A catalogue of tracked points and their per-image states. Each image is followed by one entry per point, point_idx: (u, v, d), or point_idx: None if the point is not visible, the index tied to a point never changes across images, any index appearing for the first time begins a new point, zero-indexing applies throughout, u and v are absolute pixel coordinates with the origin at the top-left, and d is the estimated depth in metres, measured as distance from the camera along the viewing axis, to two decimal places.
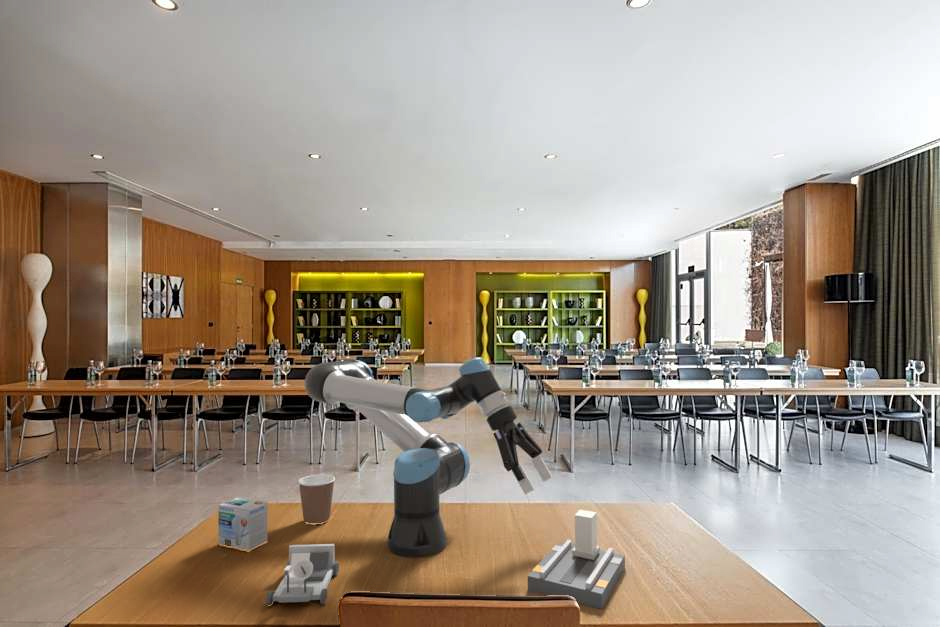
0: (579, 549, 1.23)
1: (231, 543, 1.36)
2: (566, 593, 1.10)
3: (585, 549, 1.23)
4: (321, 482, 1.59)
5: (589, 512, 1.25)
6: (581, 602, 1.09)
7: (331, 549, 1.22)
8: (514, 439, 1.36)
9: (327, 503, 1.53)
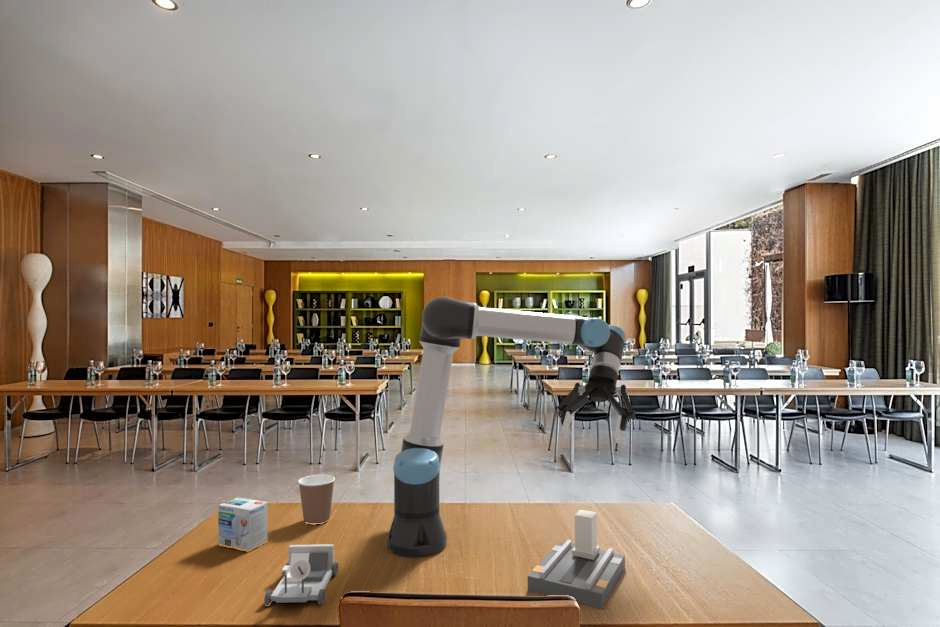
0: (579, 549, 1.23)
1: (231, 543, 1.36)
2: (566, 593, 1.10)
3: (585, 549, 1.23)
4: (321, 482, 1.59)
5: (589, 512, 1.25)
6: (581, 602, 1.09)
7: (331, 549, 1.21)
8: None
9: (327, 503, 1.53)
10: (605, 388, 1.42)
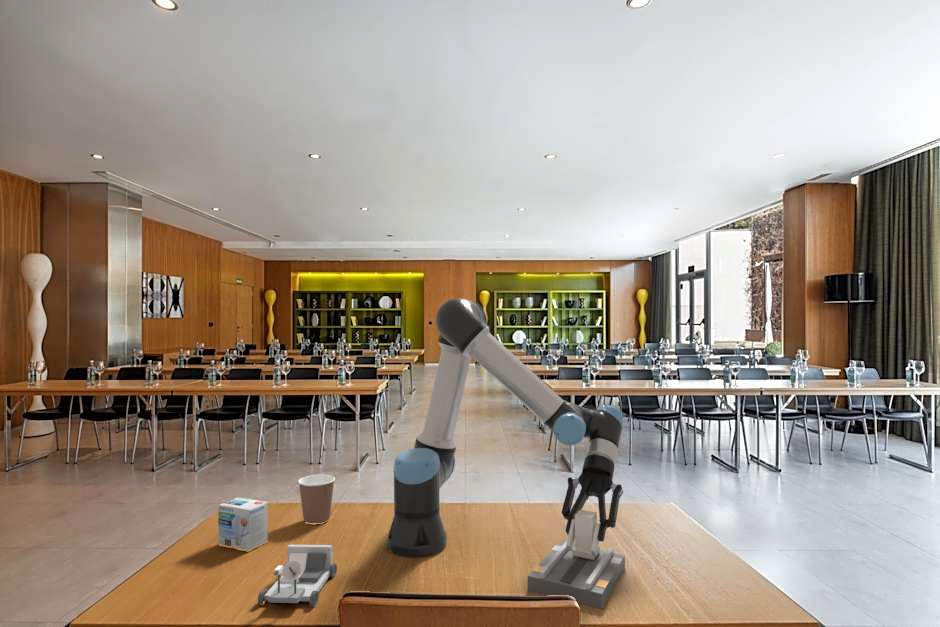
0: (579, 549, 1.23)
1: (231, 543, 1.36)
2: (566, 593, 1.10)
3: (585, 549, 1.23)
4: (321, 482, 1.59)
5: (589, 512, 1.25)
6: (581, 602, 1.09)
7: (329, 550, 1.21)
8: None
9: (327, 503, 1.53)
10: (599, 483, 1.29)
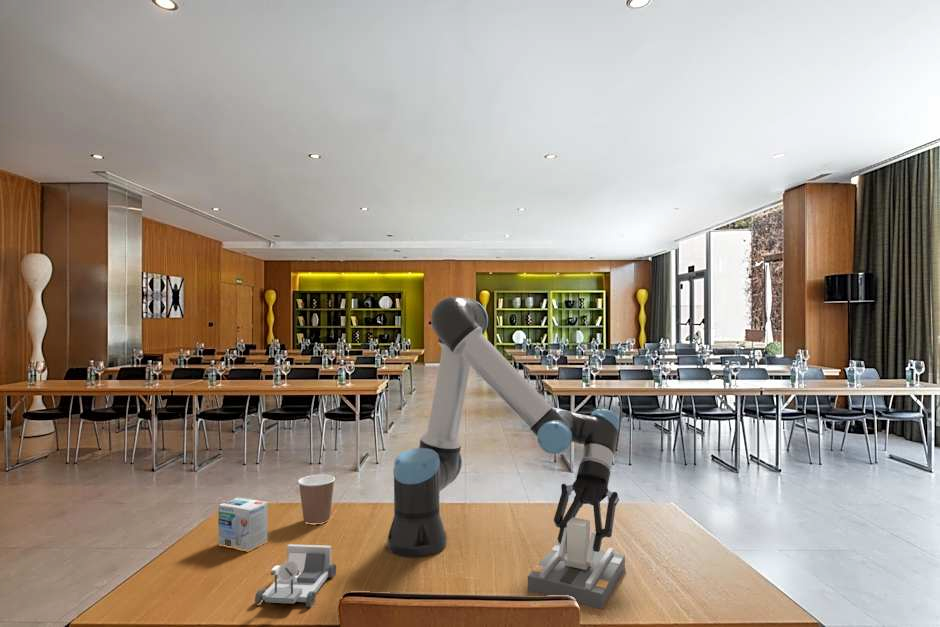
0: (571, 559, 1.18)
1: (231, 543, 1.36)
2: (566, 593, 1.10)
3: (578, 559, 1.18)
4: (321, 482, 1.59)
5: (582, 520, 1.20)
6: (581, 602, 1.09)
7: (328, 550, 1.21)
8: None
9: (327, 503, 1.53)
10: (594, 491, 1.24)
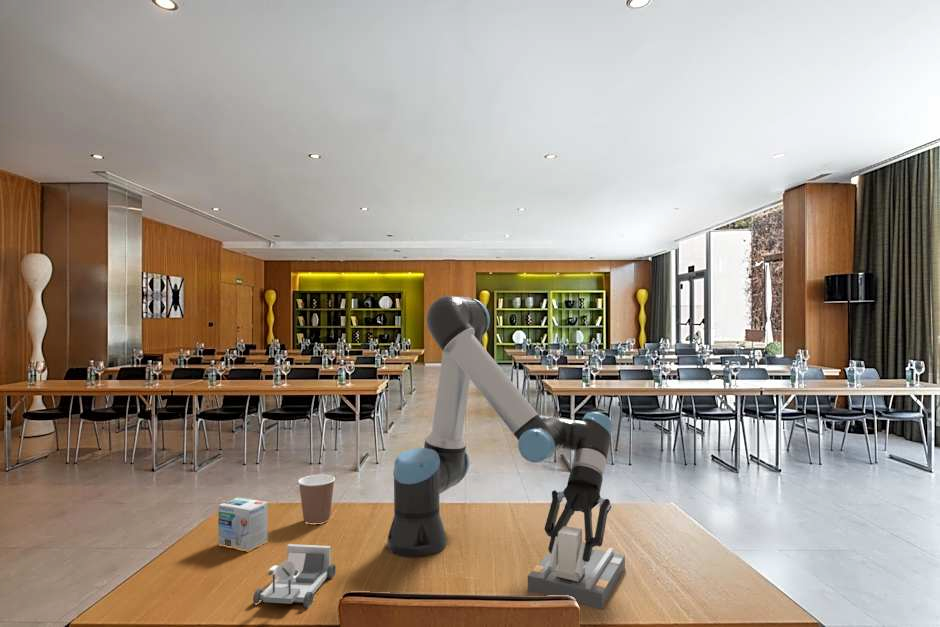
0: (563, 569, 1.13)
1: (231, 543, 1.36)
2: (566, 593, 1.10)
3: (569, 570, 1.12)
4: (321, 482, 1.59)
5: (574, 529, 1.15)
6: (581, 602, 1.09)
7: (327, 551, 1.21)
8: None
9: (327, 503, 1.53)
10: (586, 497, 1.19)
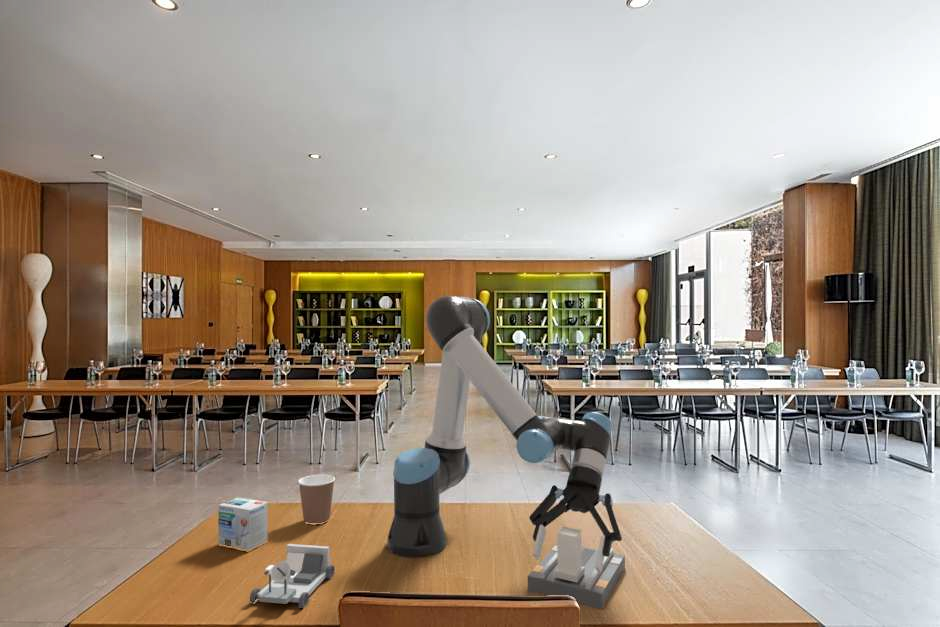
0: (562, 570, 1.13)
1: (231, 543, 1.36)
2: (566, 593, 1.10)
3: (569, 571, 1.12)
4: (321, 482, 1.59)
5: (573, 530, 1.15)
6: (581, 602, 1.09)
7: (326, 551, 1.20)
8: None
9: (327, 503, 1.53)
10: (586, 497, 1.19)
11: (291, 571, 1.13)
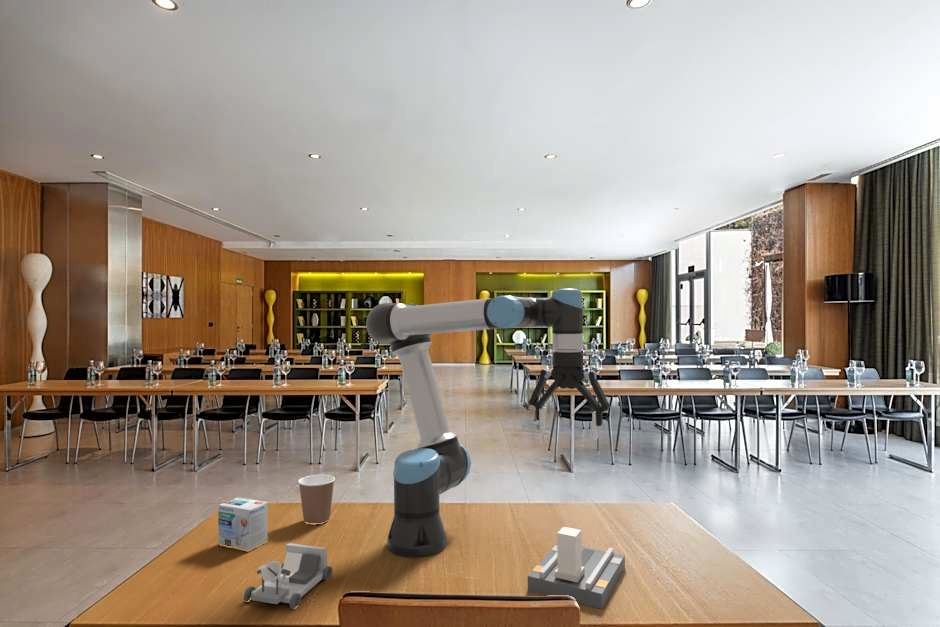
0: (562, 570, 1.13)
1: (231, 543, 1.36)
2: (566, 593, 1.10)
3: (569, 571, 1.12)
4: (321, 482, 1.59)
5: (573, 530, 1.15)
6: (581, 602, 1.09)
7: (323, 552, 1.20)
8: None
9: (327, 503, 1.53)
10: (573, 379, 1.31)
11: (286, 571, 1.13)
